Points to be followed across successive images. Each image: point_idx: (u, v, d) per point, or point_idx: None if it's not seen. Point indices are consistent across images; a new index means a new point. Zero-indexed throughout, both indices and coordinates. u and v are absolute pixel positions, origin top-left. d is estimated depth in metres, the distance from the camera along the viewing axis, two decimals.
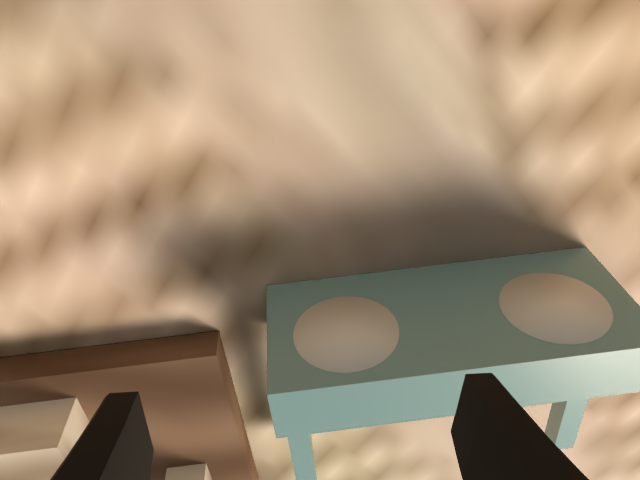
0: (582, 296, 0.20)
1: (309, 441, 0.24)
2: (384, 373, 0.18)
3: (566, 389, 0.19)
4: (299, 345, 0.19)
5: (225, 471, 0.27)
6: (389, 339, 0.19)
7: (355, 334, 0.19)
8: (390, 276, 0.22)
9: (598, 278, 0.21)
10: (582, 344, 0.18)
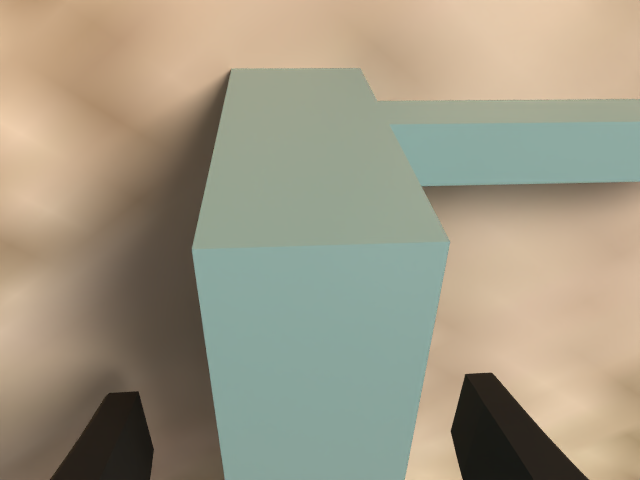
0: None
1: None
2: None
3: (357, 461, 0.07)
4: None
5: None
6: None
7: None
8: None
9: None
10: None
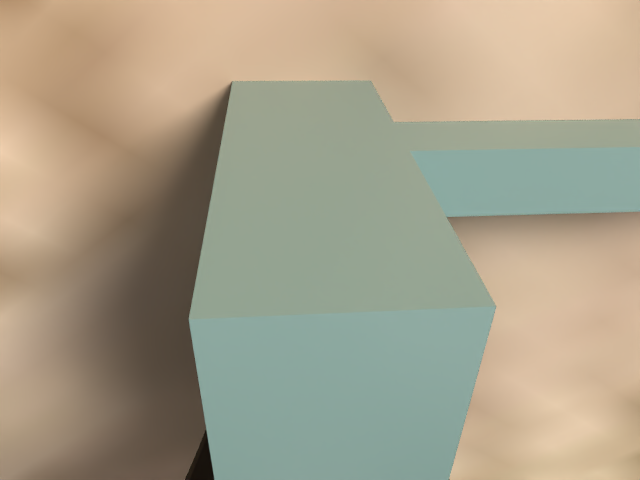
0: None
1: None
2: None
3: None
4: None
5: None
6: None
7: None
8: None
9: None
10: None
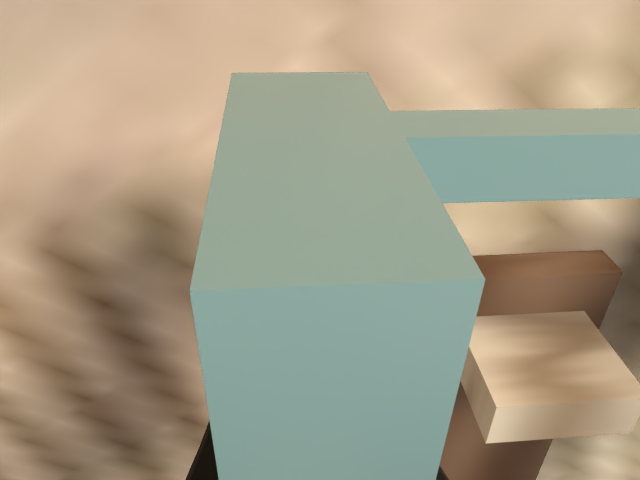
0: None
1: None
2: None
3: None
4: None
5: (482, 301, 0.21)
6: None
7: None
8: None
9: None
10: None
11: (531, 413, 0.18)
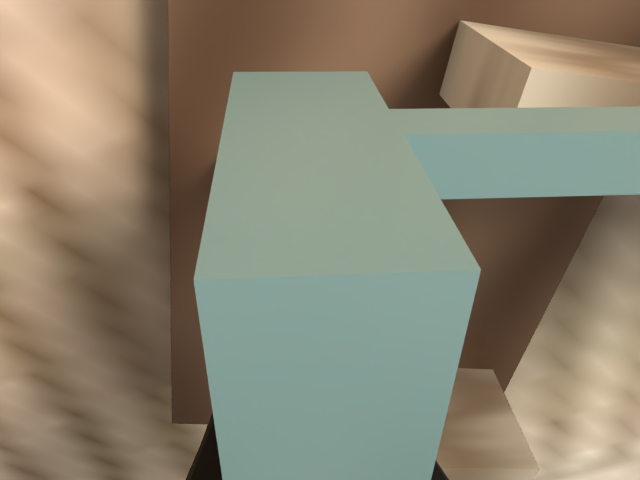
0: None
1: None
2: None
3: None
4: None
5: None
6: None
7: None
8: None
9: None
10: None
11: (585, 100, 0.10)
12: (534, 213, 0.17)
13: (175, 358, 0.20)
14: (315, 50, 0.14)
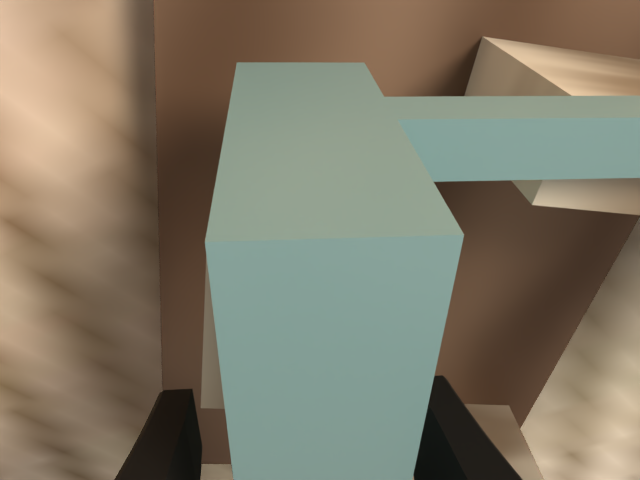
0: None
1: None
2: None
3: (366, 457, 0.07)
4: None
5: (531, 5, 0.12)
6: None
7: None
8: None
9: None
10: None
11: None
12: (558, 244, 0.16)
13: None
14: None
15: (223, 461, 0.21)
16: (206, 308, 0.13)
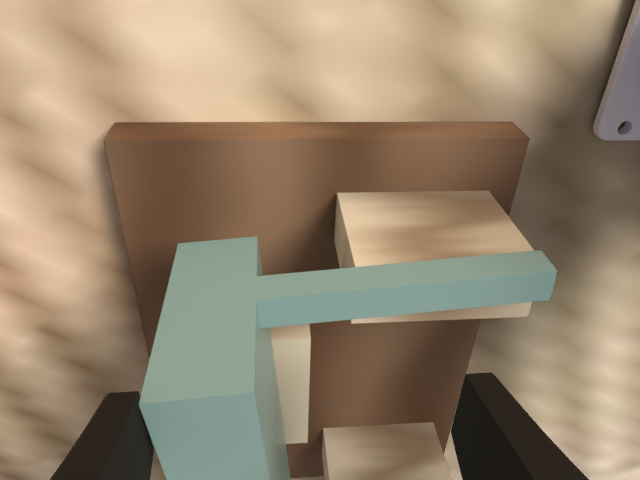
0: None
1: None
2: None
3: None
4: None
5: (365, 171, 0.18)
6: None
7: None
8: None
9: None
10: None
11: None
12: None
13: None
14: (232, 225, 0.18)
15: None
16: None
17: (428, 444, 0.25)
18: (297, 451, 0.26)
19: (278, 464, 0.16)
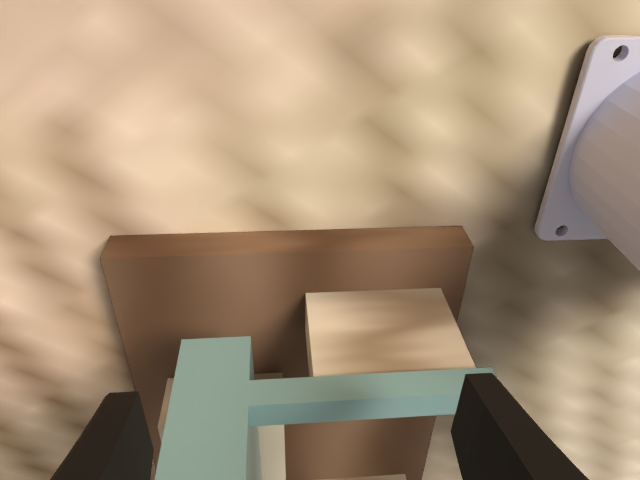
0: None
1: None
2: None
3: None
4: None
5: (329, 276, 0.20)
6: None
7: None
8: None
9: None
10: None
11: None
12: None
13: None
14: (214, 320, 0.21)
15: None
16: None
17: None
18: None
19: None
